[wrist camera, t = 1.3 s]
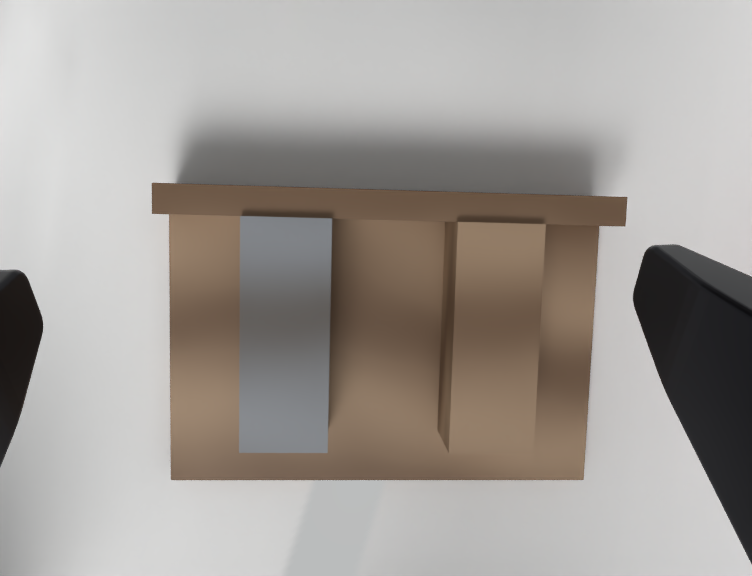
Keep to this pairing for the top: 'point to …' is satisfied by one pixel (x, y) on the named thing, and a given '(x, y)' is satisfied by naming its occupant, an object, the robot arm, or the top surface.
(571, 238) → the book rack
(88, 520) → the top surface
